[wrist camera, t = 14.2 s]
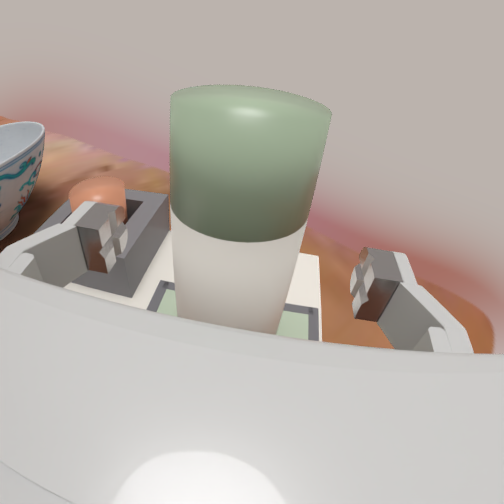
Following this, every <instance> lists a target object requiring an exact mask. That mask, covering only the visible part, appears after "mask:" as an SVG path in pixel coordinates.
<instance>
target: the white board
mask: <svg viewBox="0 0 504 504" xmlns="http://www.w3.org/2000/svg"><path fill="white" fill-rule="evenodd" d="M125 197H126V207H127V216H128V222H127V223H126V224H125V226H126V227H127V232H128V238H127V243H126V247H125V249H124V251H123V252H122V253H121V254H120V255H118V256H116V263H115V264H114V266H113V267H112V269H111V270H110V272H109V273H108V274H106V273H101V272H96V271H91V270H88V271H87V272H85V273H84V274H82V275H81V276H79V277H78V278H77V279H75V280H74V281H72V282H71V283H69V284H68V285H66V286H65V287H63V288H65V289H68V290H72V291H75V292H79V293H83V294H86V295H90V296H93V297H97V298H101V299H105V300H108V301H112V302H116V303H120V304H124V305H128V306H132V307H136V308H141V309H145V310H149V311H153V312H158V313H162V314H167V315H171V316H176V317H177V306H176V294H175V282H174V268H173V252H172V233H171V231H170V230H169V205H168V195H167V194H160V193H152V192H145V191H137V190H129V189H125ZM71 214H72V210H71V205H70V200H69V199H68V200H67V201H66V202H65V203H64V204H63V205H62V206H61V207H60V208H59V209H58V210H57V211H56V212H55V213H54V214H53V215H52V216H51V217H49V218H48V219H47V220H46V221H45V222H44V223H43V225H42V226H41V227H40V228H39V229H38V230H37V231H36V232H35V233H37V232H40V231H42V230H44V229H46V228H49V227H51V226H53V225H56V224H58V223H60V224H62V223H63V222H64V221H65V220H66V219H67V218H68V217H69V216H70V215H71ZM35 233H34V234H35ZM276 335H279V336H286V337H292V338H299V339H306V340H313V341H321V342H322V327H321V297H320V276H319V258H318V256H314V255H309V254H303V253H299V254H298V258H297V262H296V266H295V269H294V273H293V277H292V280H291V284H290V288H289V291H288V295H287V298H286V302H285V305H284V309H283V313H282V316H281V319H280V323H279V326H278V330H277V333H276Z"/></svg>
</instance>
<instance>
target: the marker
mask: <svg viewBox="0 0 504 504" xmlns="http://www.w3.org/2000/svg"><path fill="white" fill-rule="evenodd" d="M331 116H332V113H331V111H330V109H328V108H327V107H326V106H324V105H322V104H320V103H318V102H316V101H314V100H311V99H309V98H306V97H303V96H300V95H296V94H292V93H289V92H284V91H280V90H274V89H269V88H262V87H254V86H244V85H204V86H196V87H190V88H185V89H181V90H178V91H176V92H174V93H173V94H172V95H171V101H170V208H171V233H172V252H173V268H174V282H175V294H176V306H177V317H181V318H185V319H190V320H195V321H200V322H205V323H210V324H215V325H221V326H226V327H232V328H237V329H243V330H249V331H254V332H260V333H266V334H273V335H276V333H277V330H278V326H279V323H280V319H281V316H282V313H283V309H284V305H285V302H286V298H287V295H288V291H289V288H290V284H291V280H292V277H293V273H294V269H295V266H296V262H297V258H298V254H299V251H300V247H301V243H302V239H303V235H304V231H305V227H306V223H307V219H308V215H309V211H310V207H311V203H312V199H313V195H314V190H315V187H316V182H317V178H318V174H319V170H320V165H321V161H322V157H323V152H324V148H325V143H326V139H327V134H328V130H329V125H330V120H331Z"/></svg>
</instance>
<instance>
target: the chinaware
mask: <svg viewBox="0 0 504 504" xmlns="http://www.w3.org/2000/svg"><path fill="white" fill-rule="evenodd" d="M44 139H45V129H44V126H43V125H42V124H40V123H37V122H16V123H10V124H5V125H1V126H0V241H1V240H2V239H4V238H5V237H6V236H7V235H8V234H9V233H10V232H11V231H12V230H13V229H14V228H15V226H16V224H17V222H18V219H19V215H18V213H19V212H20V210H21V209H22V207H23V206H24V205H25V203H26V201H27V200H28V198H29V196H30V194H31V192H32V190H33V188H34V186H35V183H36V181H37V178H38V175H39V171H40V167H41V162H42V157H43V150H44Z"/></svg>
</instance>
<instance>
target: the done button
mask: <svg viewBox="0 0 504 504" xmlns="http://www.w3.org/2000/svg"><path fill="white" fill-rule="evenodd" d="M69 200H70V205H71V210H72V213H73V212H74V211H75V210H76V209H77V208H78V207H79V206H80V205H81V204H82V203H83V202H84V201H94V202H100V203H106V204H113V205H119V206H122V207H123V208H124V210H125V216H126V217H125V219H124V220H123V223H124V225H125V224H126V223H127V222H128V216H127V207H126V197H125V186H124V183H123V181H122V180H120V179H118V178H116V177H110V176H100V177H94V178H90V179H87V180H84V181H82V182H80V183H78V184H77V185H75V186H74V187H73V188H72V189H71V190H70V192H69Z"/></svg>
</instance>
